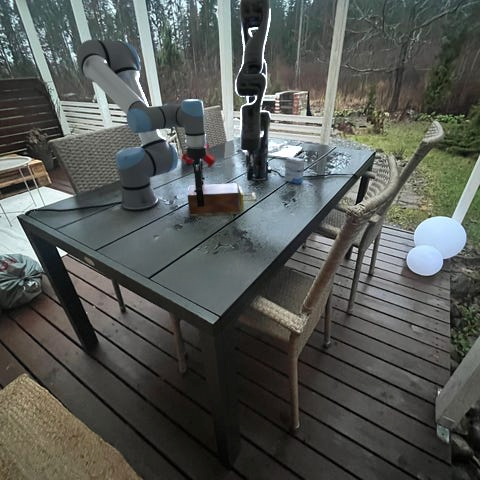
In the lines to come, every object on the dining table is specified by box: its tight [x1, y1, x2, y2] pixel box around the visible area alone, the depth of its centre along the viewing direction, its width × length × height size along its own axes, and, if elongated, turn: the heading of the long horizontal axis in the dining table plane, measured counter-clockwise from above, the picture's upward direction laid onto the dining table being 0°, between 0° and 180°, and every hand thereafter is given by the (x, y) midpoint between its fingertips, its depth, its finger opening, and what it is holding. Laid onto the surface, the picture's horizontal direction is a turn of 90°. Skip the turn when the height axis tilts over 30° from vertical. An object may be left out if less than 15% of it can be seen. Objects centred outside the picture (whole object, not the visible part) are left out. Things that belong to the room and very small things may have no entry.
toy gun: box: [181, 141, 216, 167], centre depth 167 cm, size 18×4×15 cm
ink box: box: [284, 156, 306, 185], centre depth 140 cm, size 8×5×12 cm, turn 47°
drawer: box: [237, 185, 258, 212], centre depth 114 cm, size 25×9×7 cm, turn 96°
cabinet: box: [187, 182, 240, 217], centre depth 113 cm, size 20×10×9 cm, turn 96°
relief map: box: [242, 138, 304, 160], centre depth 192 cm, size 27×35×5 cm
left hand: (201, 200), depth 113 cm, fingers closed on cabinet, 10 cm apart
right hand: (249, 180), depth 111 cm, fingers closed
